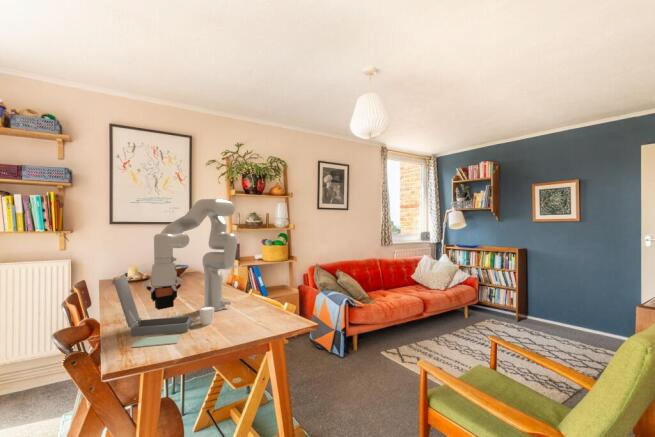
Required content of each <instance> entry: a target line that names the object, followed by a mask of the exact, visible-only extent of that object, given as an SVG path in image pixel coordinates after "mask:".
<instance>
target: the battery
mask: <svg viewBox="0 0 655 437" xmlns="http://www.w3.org/2000/svg"><path fill="white" fill-rule="evenodd" d="M173 290H174V289H173V288H172V287H171V286H164V287H156V288H155V301H154V307H155V309H156V310H159V311H160V310H164V309H165V310H166V309H169V308H173V307H174V306H175V303H174V302H175V300H173Z"/></svg>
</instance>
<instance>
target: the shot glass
mask: <svg viewBox="0 0 655 437" xmlns="http://www.w3.org/2000/svg"><path fill="white" fill-rule="evenodd" d="M202 307H203V306H202ZM202 307H201V308H199V310H198V311H199V320H200V321H199V322H200V324H201V325H205V326H207V325H211V324H213V323H214V316H215V311H214V307H203V308H202Z"/></svg>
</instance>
